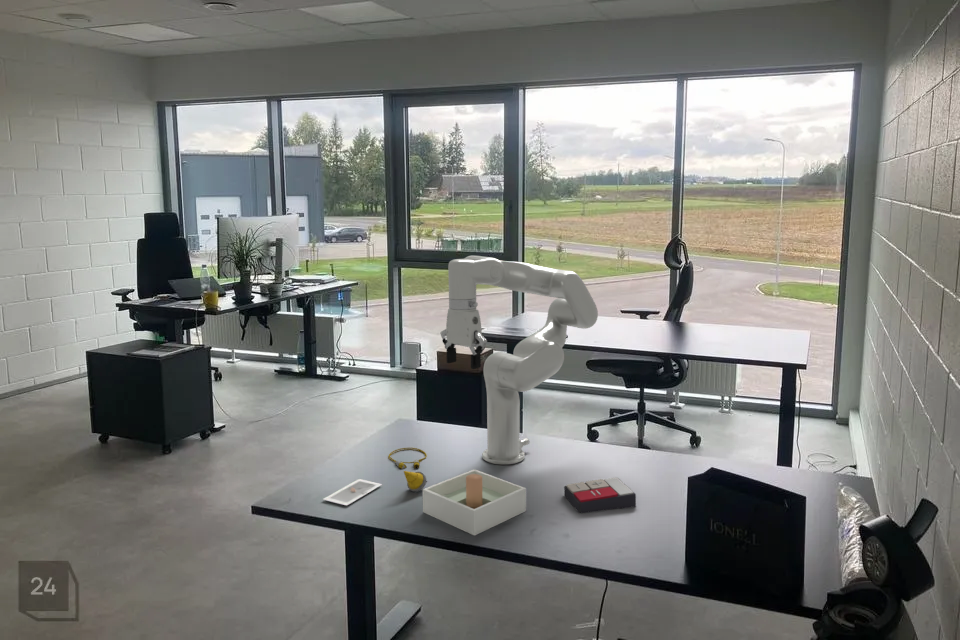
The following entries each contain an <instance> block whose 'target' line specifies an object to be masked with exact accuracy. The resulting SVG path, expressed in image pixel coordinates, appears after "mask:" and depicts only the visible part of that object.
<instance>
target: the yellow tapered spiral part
mask: <svg viewBox="0 0 960 640" xmlns="http://www.w3.org/2000/svg"><path fill="white" fill-rule="evenodd" d="M403 474H404V477H405V479H406V483H407V485H406V487H407V488H408V490H410V491H411V492H413V493H417V492H420V491H423V489H425V486H426V484H427V483H428V480H427V476H426V475H425V474H424V473H423V472H421V471H406V470H405V471H403Z"/></svg>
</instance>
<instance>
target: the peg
mask: <svg viewBox="0 0 960 640" xmlns="http://www.w3.org/2000/svg"><path fill="white" fill-rule="evenodd" d="M482 505H483V499H482V476H481V475H478V474H471V475H468V476H466V506H468V507H470V508H473V509H476V508H478V507H480V506H482Z"/></svg>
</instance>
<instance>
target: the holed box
mask: <svg viewBox="0 0 960 640" xmlns="http://www.w3.org/2000/svg"><path fill="white" fill-rule="evenodd" d="M471 474H478V475H481V476H482V499H483V505H482V506H480V507H478V508H476V509H473V508H470V507H468V506H466V476H468V475H471ZM526 511H527V488H526V487H525V486H521V485H518V484H516V483H513V482H510V481H507V480H505V479H502V478H499V477H498V476H497V477H496V476H494V475H492V474H488V473H487V472H483V471H481V470H477V469H471V470H469V471H466V472H464V473H461V474H458V475H456V476H453V477H450V478H448V479H446V480H443V481H440V482H438V483H435V484H432V485H430V486H427V487H424V488H423V489H422V513H424V514H425V515H428V516H431V517H433V518H436V520H439V521H441V522H443V523H446V524H448V525H450V526H452V527H454V528H457V529H459V530H461V531H464V532H465V533H468V534H470V535H472V536H477V535H479V534H481V533H483V532H485V531H487V530H489V529H491V528H493V527H496V526H498V525H501V524H502V523H504V522H506V521H509V520H510V519H512V518H514V517H516V516H518V515H521V514H523V513H525V512H526Z"/></svg>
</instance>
